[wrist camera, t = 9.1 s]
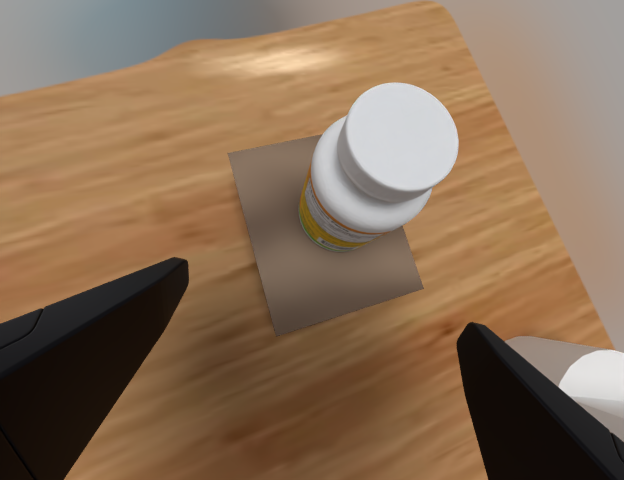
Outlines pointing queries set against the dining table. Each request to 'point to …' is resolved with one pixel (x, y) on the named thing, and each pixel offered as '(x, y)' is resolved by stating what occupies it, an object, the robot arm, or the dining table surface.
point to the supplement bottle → (376, 166)
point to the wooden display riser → (310, 245)
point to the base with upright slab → (581, 375)
